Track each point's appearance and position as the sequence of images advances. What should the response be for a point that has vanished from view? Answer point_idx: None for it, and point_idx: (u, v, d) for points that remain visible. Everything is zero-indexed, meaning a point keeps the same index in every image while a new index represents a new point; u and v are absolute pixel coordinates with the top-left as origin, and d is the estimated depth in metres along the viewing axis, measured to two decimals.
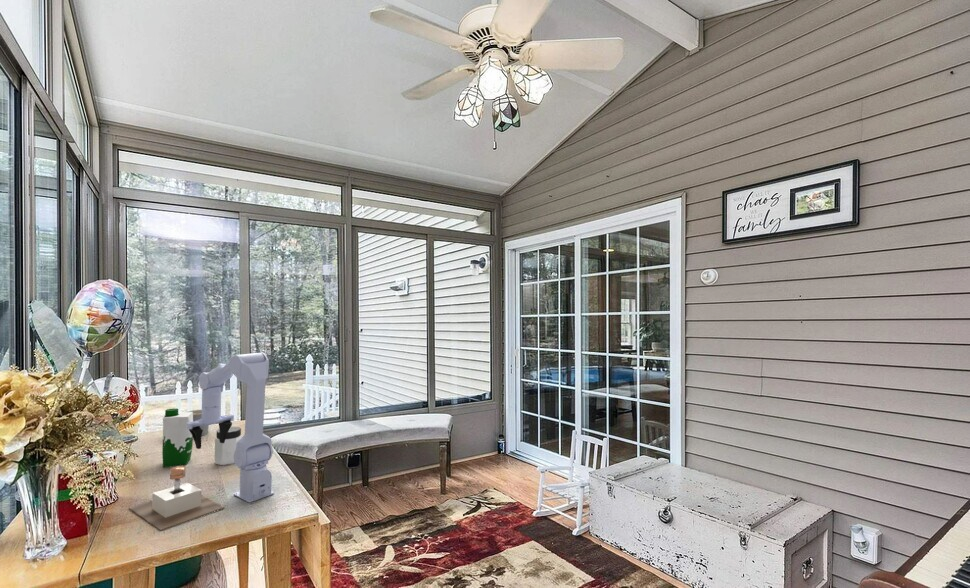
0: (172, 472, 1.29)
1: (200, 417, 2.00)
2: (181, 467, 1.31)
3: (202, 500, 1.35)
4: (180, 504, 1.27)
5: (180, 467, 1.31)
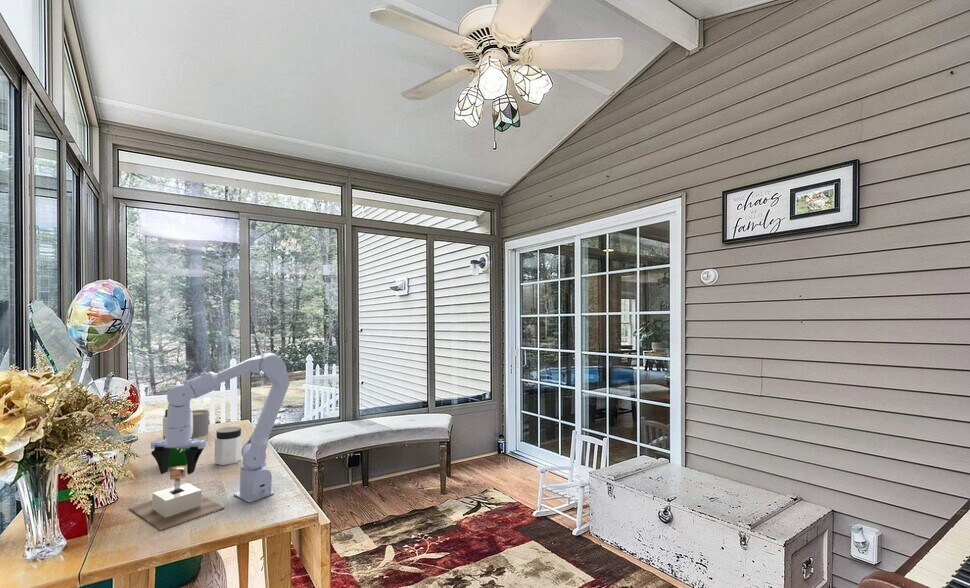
0: (172, 472, 1.29)
1: (200, 417, 2.00)
2: (181, 467, 1.31)
3: (202, 500, 1.35)
4: (180, 504, 1.27)
5: (180, 467, 1.31)
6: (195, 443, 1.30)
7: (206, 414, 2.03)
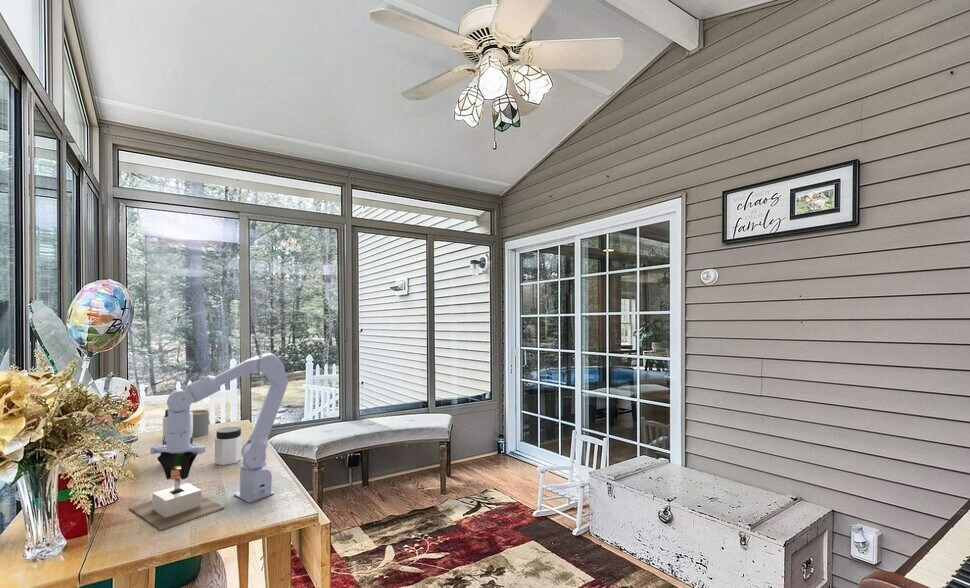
0: (172, 472, 1.29)
1: (200, 417, 2.00)
2: None
3: (202, 500, 1.35)
4: (180, 504, 1.27)
5: (180, 467, 1.31)
6: (195, 448, 1.30)
7: (206, 414, 2.03)
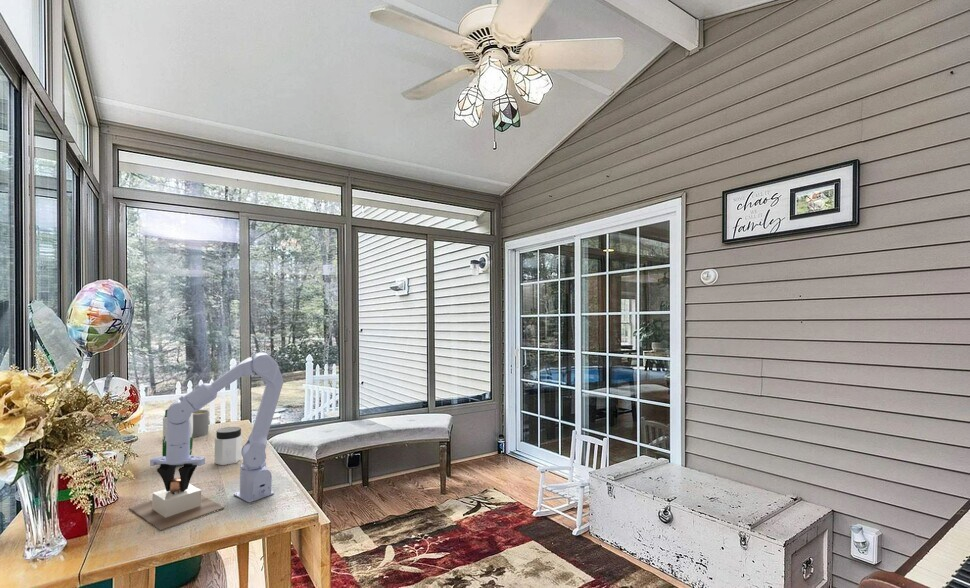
0: (171, 484, 1.29)
1: (200, 417, 2.00)
2: (180, 479, 1.31)
3: (202, 500, 1.35)
4: (180, 504, 1.27)
5: (179, 479, 1.31)
6: (195, 460, 1.29)
7: (206, 414, 2.03)
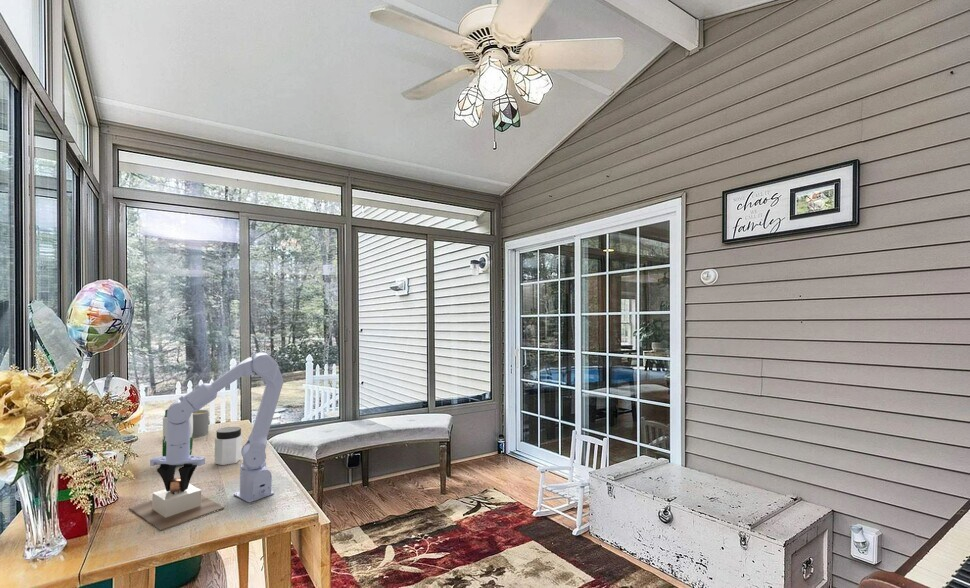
0: (171, 484, 1.29)
1: (200, 417, 2.00)
2: (180, 479, 1.31)
3: (202, 500, 1.35)
4: (180, 504, 1.27)
5: (179, 479, 1.31)
6: (195, 460, 1.29)
7: (206, 414, 2.03)
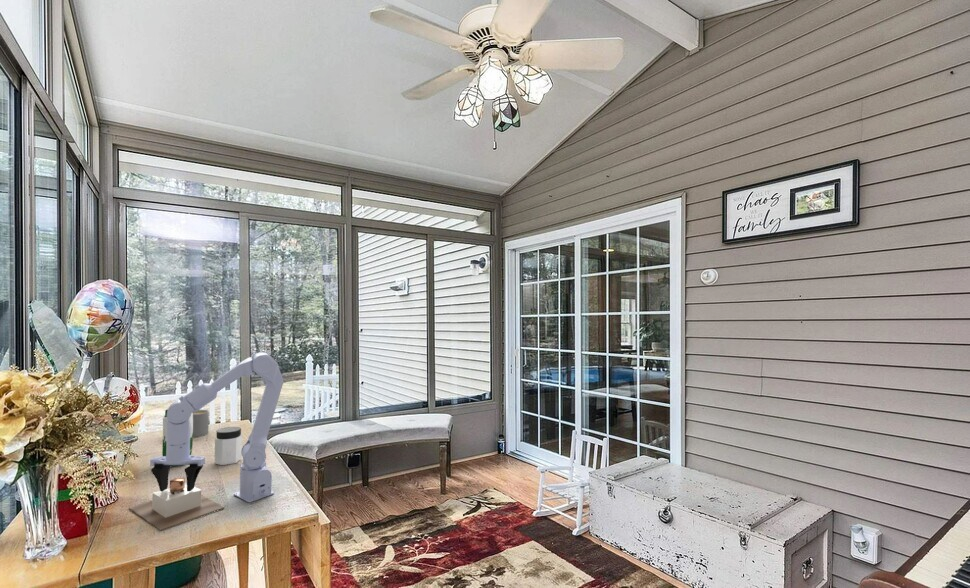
0: (171, 484, 1.29)
1: (200, 417, 2.00)
2: (180, 479, 1.31)
3: (202, 500, 1.35)
4: (180, 504, 1.27)
5: (179, 479, 1.31)
6: (195, 460, 1.29)
7: (206, 414, 2.03)
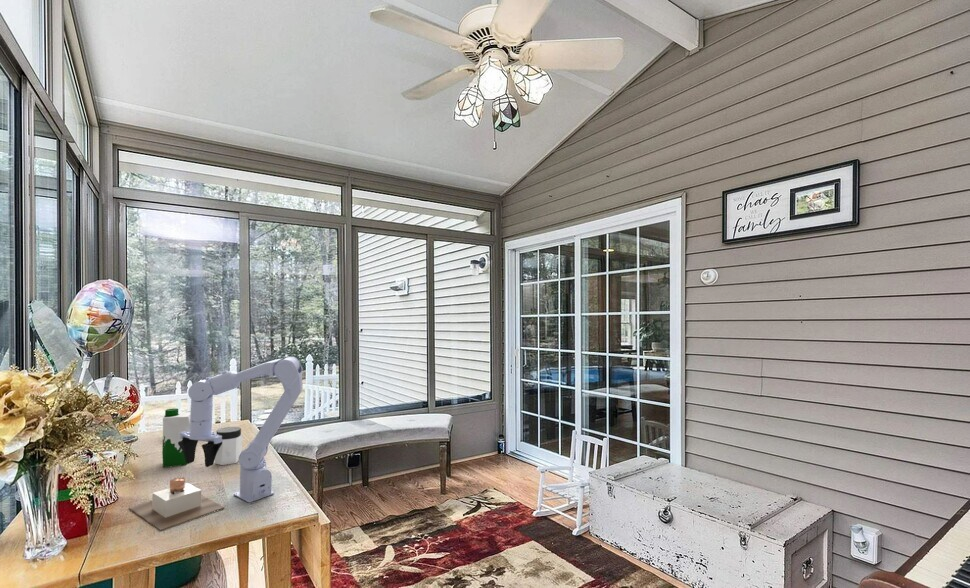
0: (171, 484, 1.29)
1: None
2: (180, 479, 1.31)
3: (202, 500, 1.35)
4: (180, 504, 1.27)
5: (179, 479, 1.31)
6: (211, 438, 1.35)
7: None
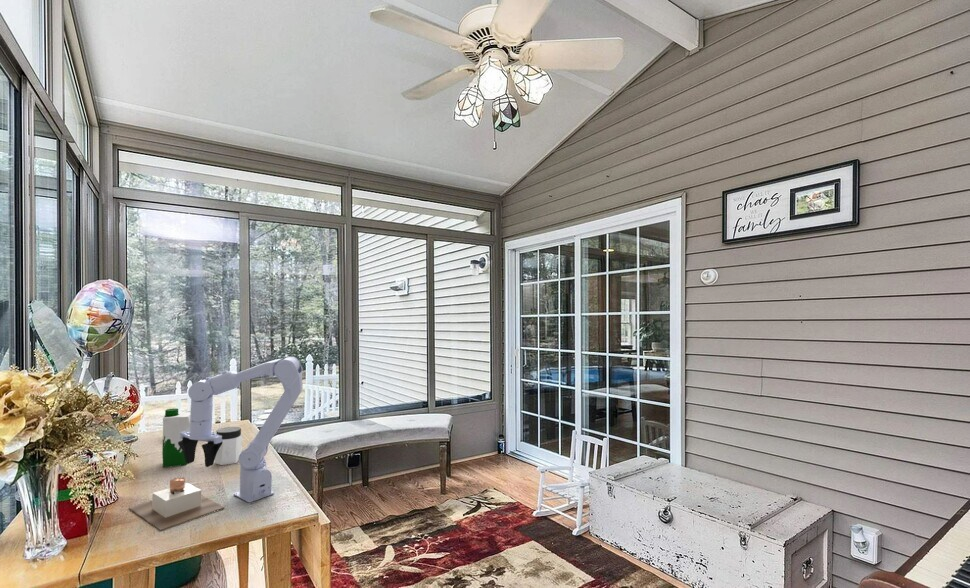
0: (171, 484, 1.29)
1: None
2: (180, 479, 1.31)
3: (202, 500, 1.35)
4: (180, 504, 1.27)
5: (179, 479, 1.31)
6: (211, 438, 1.35)
7: None
